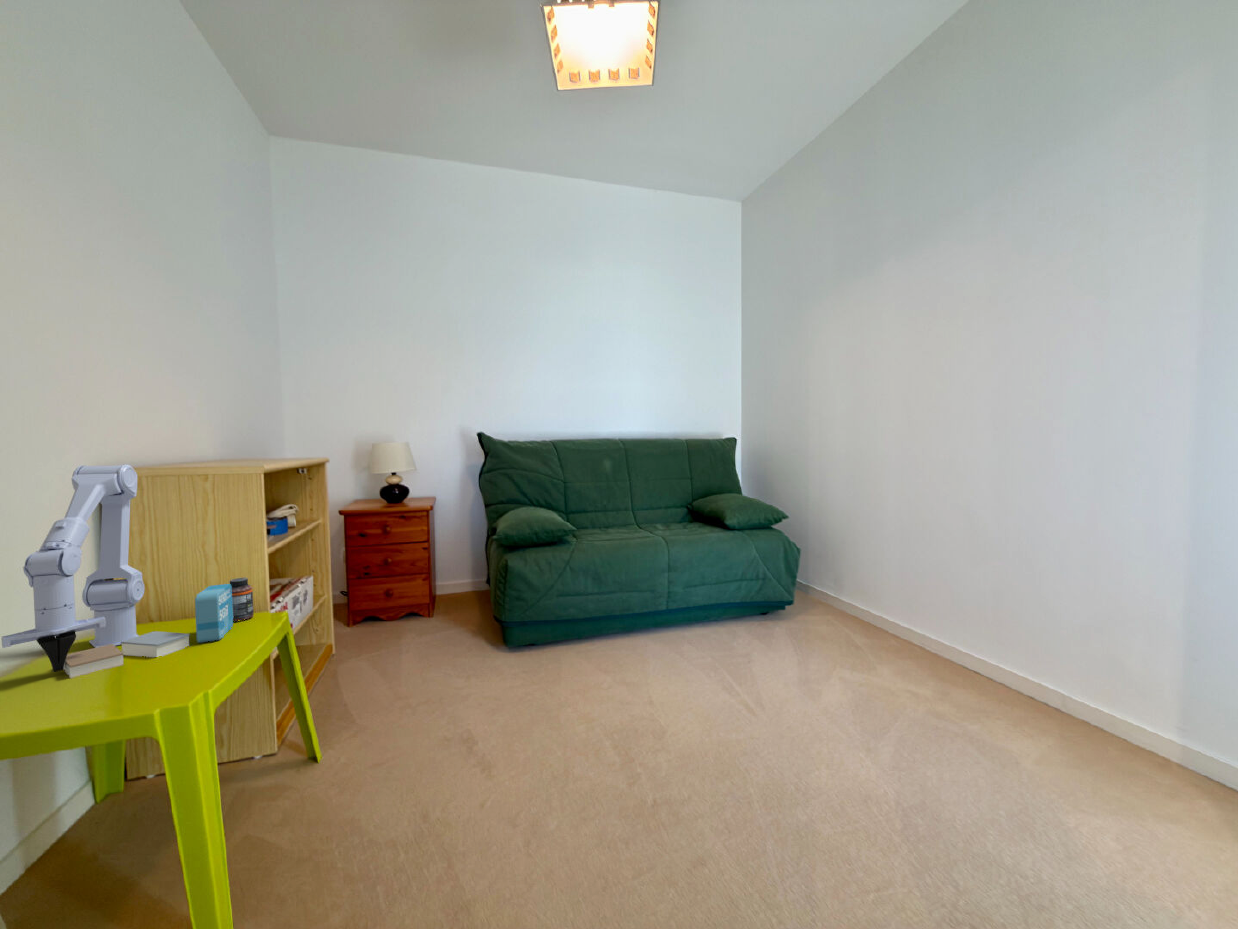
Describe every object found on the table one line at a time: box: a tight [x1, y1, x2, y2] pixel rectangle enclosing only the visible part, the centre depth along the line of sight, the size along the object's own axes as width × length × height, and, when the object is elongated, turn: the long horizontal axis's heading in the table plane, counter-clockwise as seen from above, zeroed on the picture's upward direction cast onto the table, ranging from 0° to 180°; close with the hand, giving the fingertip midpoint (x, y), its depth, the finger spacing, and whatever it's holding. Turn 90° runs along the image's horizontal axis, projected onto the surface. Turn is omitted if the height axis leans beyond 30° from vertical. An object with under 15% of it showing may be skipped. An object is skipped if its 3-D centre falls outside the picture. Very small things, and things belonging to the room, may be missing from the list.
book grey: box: [121, 631, 190, 658], centre depth 120 cm, size 11×7×3 cm, turn 77°
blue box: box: [194, 583, 234, 643], centre depth 129 cm, size 12×4×12 cm, turn 24°
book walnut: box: [63, 644, 124, 679], centre depth 111 cm, size 10×8×3 cm
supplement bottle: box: [229, 577, 254, 621], centre depth 142 cm, size 6×6×11 cm
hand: (58, 670), depth 107 cm, fingers closed
